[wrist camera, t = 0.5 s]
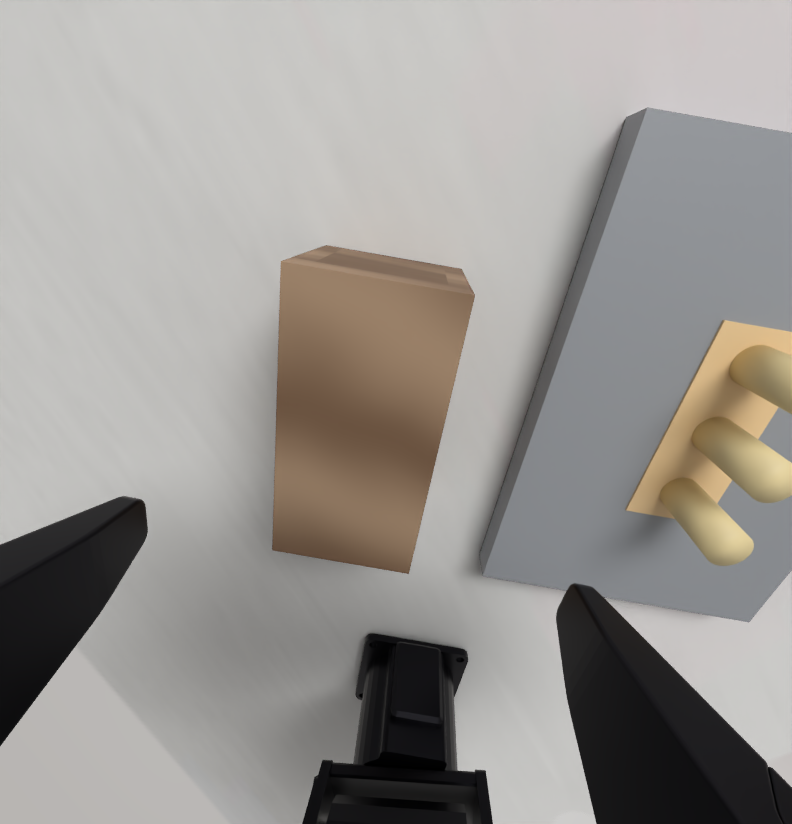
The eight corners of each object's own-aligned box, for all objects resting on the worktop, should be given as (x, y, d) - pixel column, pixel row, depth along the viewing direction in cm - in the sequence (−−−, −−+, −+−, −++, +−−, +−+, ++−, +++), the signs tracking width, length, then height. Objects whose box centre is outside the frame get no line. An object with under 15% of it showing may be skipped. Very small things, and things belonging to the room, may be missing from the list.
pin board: (730, 597, 23) (803, 693, 18) (479, 554, 23) (491, 639, 18) (1037, 190, 14) (1328, 181, 9) (626, 117, 14) (720, 73, 9)
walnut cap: (413, 488, 21) (408, 573, 16) (309, 470, 21) (272, 550, 16) (461, 268, 16) (475, 295, 11) (325, 245, 16) (281, 261, 11)
